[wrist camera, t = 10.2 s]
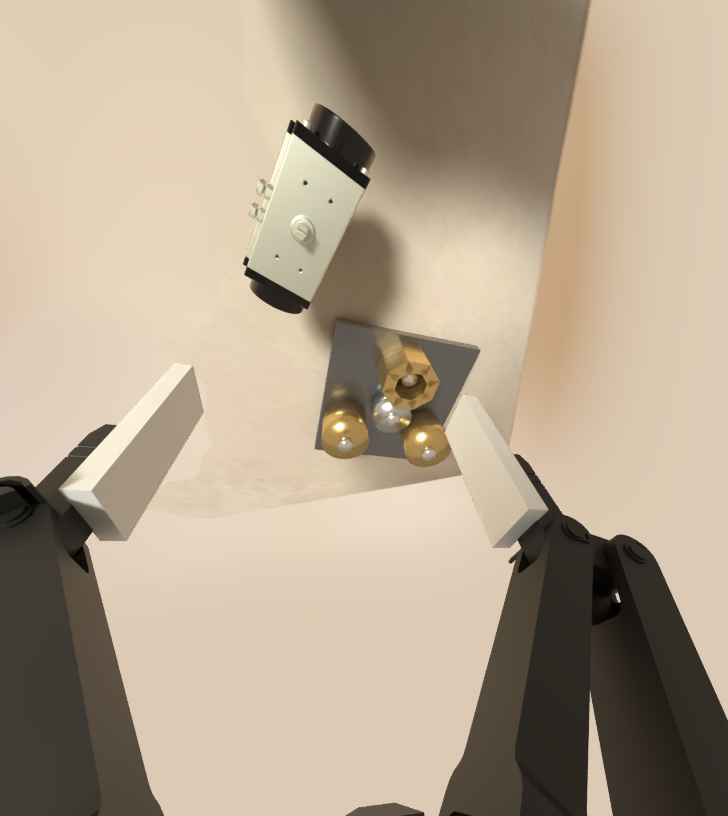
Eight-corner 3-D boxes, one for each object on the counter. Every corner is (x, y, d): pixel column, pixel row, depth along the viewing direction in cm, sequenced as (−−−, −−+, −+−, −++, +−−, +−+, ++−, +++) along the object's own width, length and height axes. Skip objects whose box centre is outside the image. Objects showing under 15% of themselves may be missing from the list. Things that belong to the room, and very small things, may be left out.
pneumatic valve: (367, 167, 25) (387, 148, 15) (310, 289, 30) (297, 331, 21) (309, 120, 23) (289, 62, 13) (259, 259, 28) (219, 291, 19)
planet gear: (386, 339, 33) (392, 358, 29) (433, 347, 34) (446, 367, 30) (373, 382, 36) (378, 404, 32) (417, 388, 38) (426, 411, 34)
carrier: (336, 318, 32) (336, 343, 27) (476, 345, 36) (502, 373, 30) (315, 443, 44) (311, 479, 38) (423, 455, 47) (434, 489, 42)
